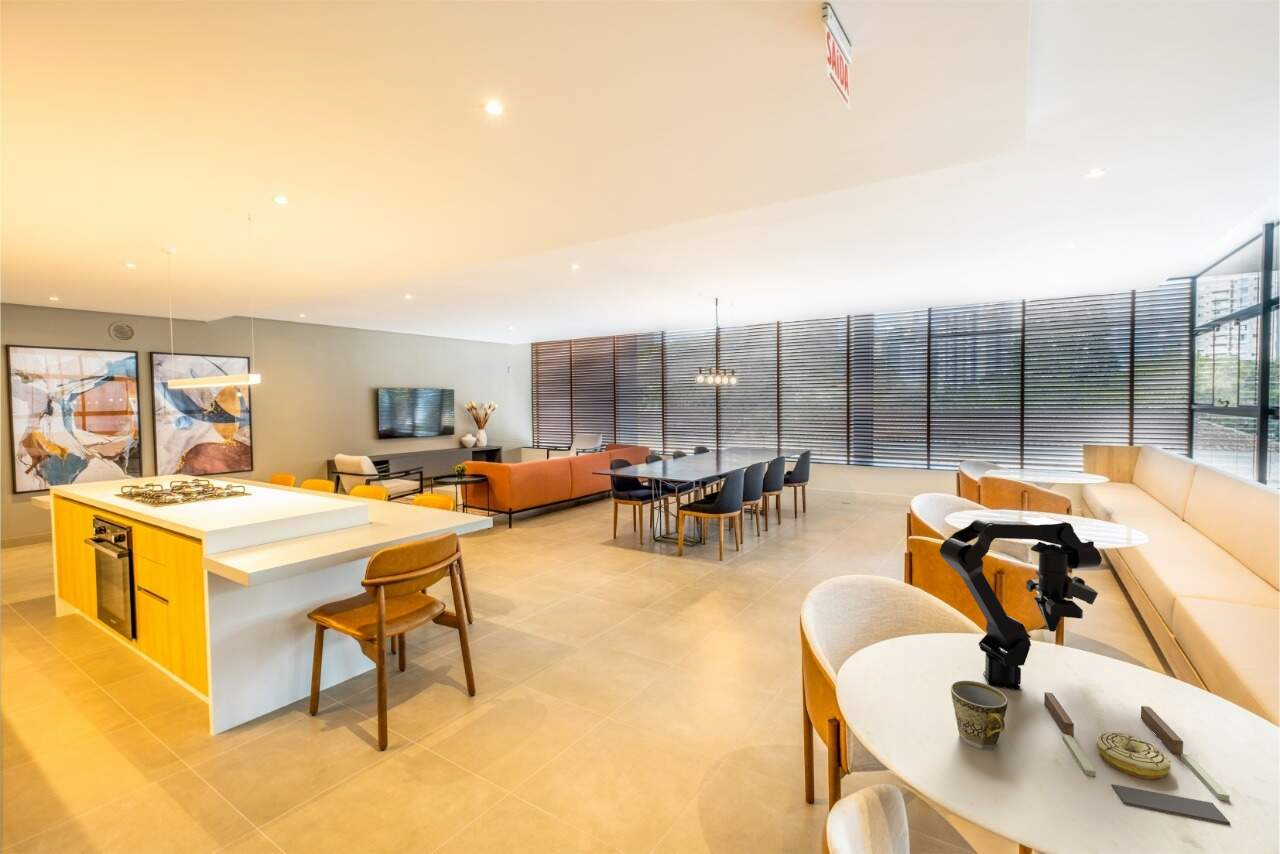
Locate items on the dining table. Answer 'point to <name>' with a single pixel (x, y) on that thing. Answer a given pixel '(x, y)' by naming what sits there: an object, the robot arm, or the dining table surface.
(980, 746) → the ceramic cup
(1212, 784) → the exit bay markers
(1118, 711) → the dining table surface
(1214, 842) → the dining table surface
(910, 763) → the dining table surface
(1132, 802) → the dark grey rectangular plate
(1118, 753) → the decorated donut
